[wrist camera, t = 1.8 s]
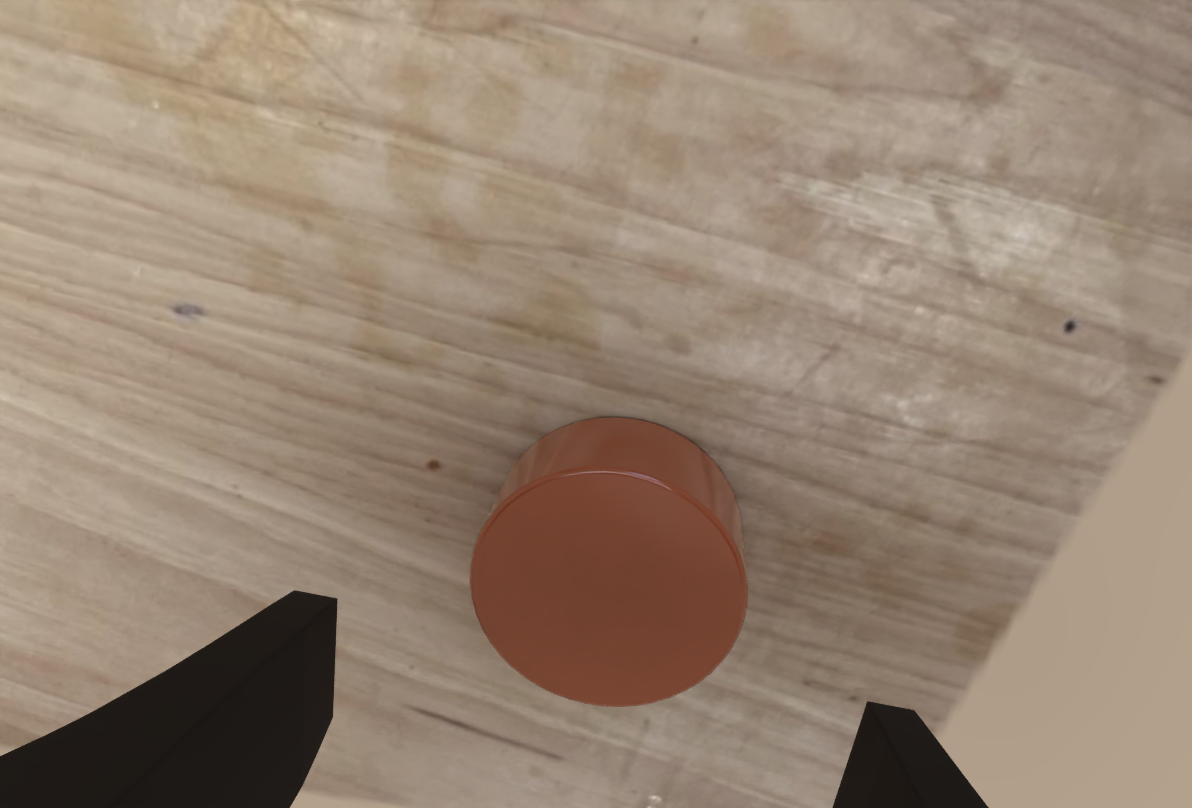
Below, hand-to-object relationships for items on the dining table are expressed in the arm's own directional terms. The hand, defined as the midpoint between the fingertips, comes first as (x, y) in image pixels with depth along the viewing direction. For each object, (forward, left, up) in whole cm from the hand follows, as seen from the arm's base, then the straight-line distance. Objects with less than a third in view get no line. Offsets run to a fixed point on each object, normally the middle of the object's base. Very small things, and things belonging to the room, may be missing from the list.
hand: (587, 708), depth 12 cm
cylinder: (0, 0, -5) cm, 5 cm away
